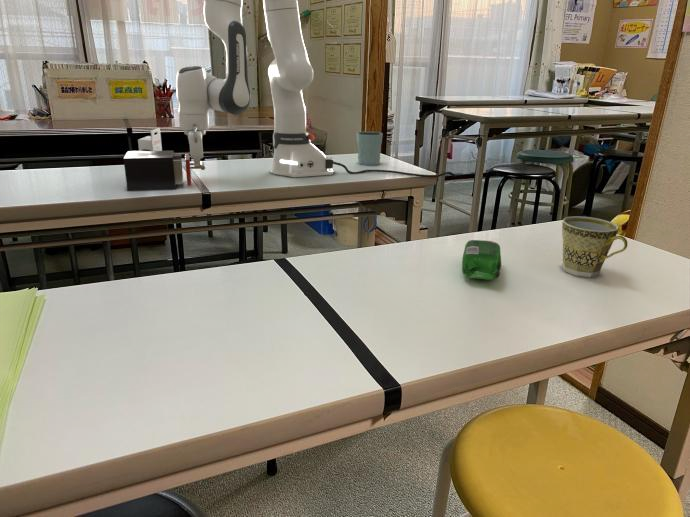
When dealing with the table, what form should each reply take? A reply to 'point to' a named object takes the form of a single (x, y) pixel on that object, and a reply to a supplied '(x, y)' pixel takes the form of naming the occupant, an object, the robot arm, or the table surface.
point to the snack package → (481, 260)
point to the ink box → (151, 142)
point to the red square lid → (178, 168)
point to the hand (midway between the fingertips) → (197, 168)
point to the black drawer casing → (149, 170)
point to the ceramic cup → (587, 244)
